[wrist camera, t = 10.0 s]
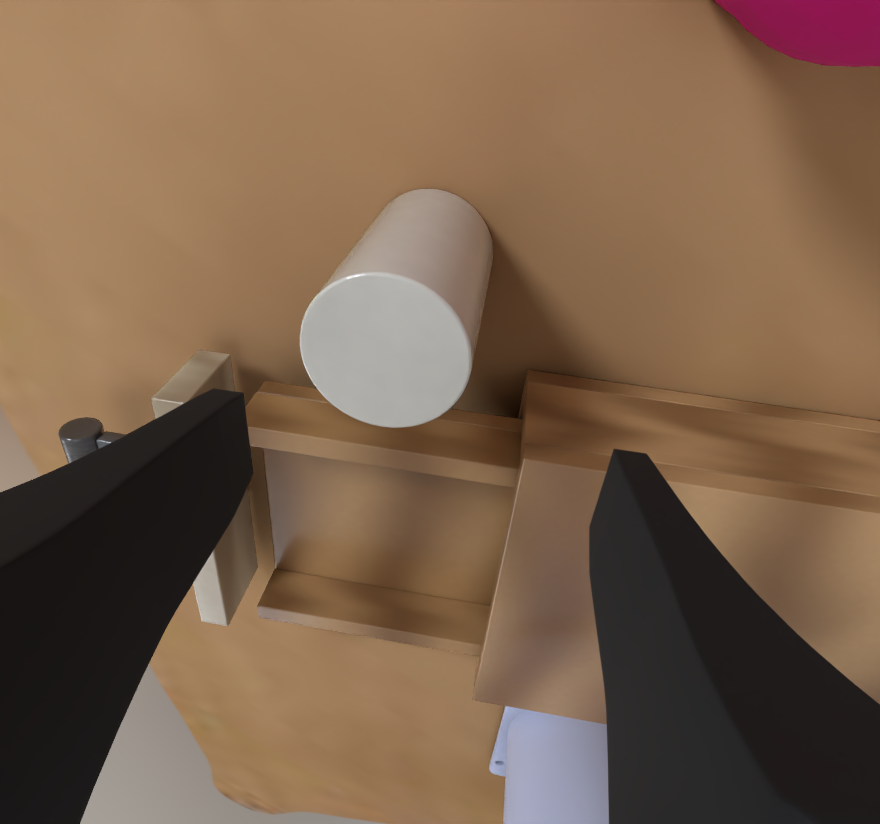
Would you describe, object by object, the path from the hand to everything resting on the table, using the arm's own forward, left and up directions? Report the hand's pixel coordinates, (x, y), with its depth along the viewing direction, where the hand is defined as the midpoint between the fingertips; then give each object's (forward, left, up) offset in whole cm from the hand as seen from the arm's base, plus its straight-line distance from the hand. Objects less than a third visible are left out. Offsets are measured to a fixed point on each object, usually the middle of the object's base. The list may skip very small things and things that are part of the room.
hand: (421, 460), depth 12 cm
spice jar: (+1, +1, -10) cm, 10 cm away
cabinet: (-9, -10, -10) cm, 17 cm away
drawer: (-9, +5, -9) cm, 14 cm away
